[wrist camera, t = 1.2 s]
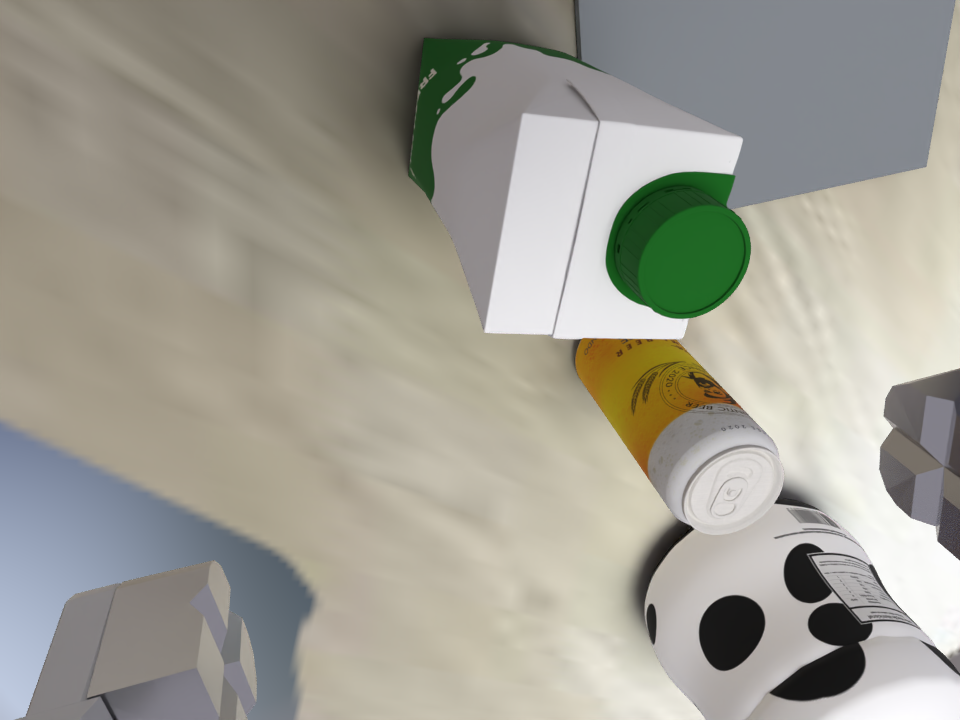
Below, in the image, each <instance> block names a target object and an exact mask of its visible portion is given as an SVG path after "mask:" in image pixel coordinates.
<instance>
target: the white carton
mask: <svg viewBox="0 0 960 720" xmlns="http://www.w3.org/2000/svg"><path fill="white" fill-rule="evenodd" d="M742 142H743V139H742V138H741V137H740V136H738V135H736V134H733V133H731V132H728V131H726V130H724V129H722V128H719V127H717V126H715V125H713V124H711V123H709V122H706V121H704V120H702V119H700V118H698V117H696V116H694V115H691V114H689V113H687V112H685V111H683V110H681V109H679V108H676V107H674V106H672V105H670V104H668V103H666V102H664V101H662V100H659V99H657V98H655V97H653V96H651V95H649V94H647V93H645V92H643V91H642V90H640V89H638V88H636V87H634V86H632V85H630V84H628V83H626V82H624V81H622V80H620V79H618V78H616V77H614V76H612V75H610V74H608V73H605V72H603V71H601V70H599V69H597V68H595V67H593V66H591V65H589V64H587V63H585V62H583V61H581V60H579V59H577V58H575V57H573V56H571V55H568V54H566V53H563V52H560V51H556V50H551V49H546V48H541V47H535V46H529V45H524V44H517V43H511V42H503V41H492V40H464V39H433V38H424V43H423V51H422V60H421V69H420V78H419V86H418V95H417V104H416V113H415V121H414V130H413V139H412V148H411V156H410V165H409V174H408V176H409V177H410V178H411V179H412V180H413V181H414V182H415V183H416V184H417V185H418V186H419V187H420V188H421V189H422V190H423V191H424V192H425V193H426V195H427V197H428V198H429V200H430V202H431V204H432V205H433V207H434V209H435V210H436V212H437V214H438V215H439V217H440V219H441V220H442V222H443V224H444V226H445V227H446V229H447V231H448V232H449V234H450V236H451V238H452V240H453V242H454V245H455V248H456V250H457V253H458V256H459V259H460V262H461V265H462V267H463V270H464V273H465V276H466V279H467V282H468V285H469V288H470V291H471V293H472V296H473V299H474V302H475V305H476V308H477V311H478V314H479V317H480V320H481V324H482V327H483V330H484V332H485V333H505V334H543V335H548V336H550V337H552V338H556V339H582V338H611V339H682V338H683V336H684V334H685V331H686V327H687V324H688V320H689V318H693V317H697V316H700V315H703V314H705V313H707V312H709V311H711V310H713V309H715V308H716V307H718V306H719V305H720V304H722V303H723V302H724V301H725V300H726V299H728V298H729V297H730V296H731V294H732V293H733V292H734V291H735V290H736V288H737V287H738V285H739V284H740V282H741V281H742V279H743V277H744V275H745V273H746V270H747V268H748V264H749V260H750V254H751V243H750V237H749V233H748V230H747V228H746V226H745V224H744V223H743V221H742V220H741V218H740V217H739V216H737V215H736V214H735V212H734V211H732V210H731V209H729V208H728V207H727V201H728V198H729V196H730V193H731V190H732V187H733V184H734V180H735V177H736V176H735V175H732V174H733V171H734V168H735V165H736V162H737V159H738V156H739V153H740V150H741V146H742Z"/></svg>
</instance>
